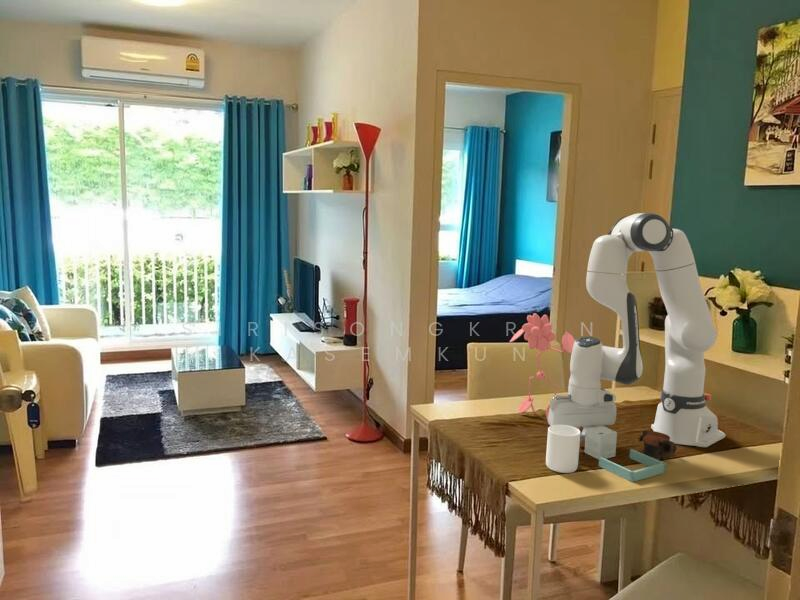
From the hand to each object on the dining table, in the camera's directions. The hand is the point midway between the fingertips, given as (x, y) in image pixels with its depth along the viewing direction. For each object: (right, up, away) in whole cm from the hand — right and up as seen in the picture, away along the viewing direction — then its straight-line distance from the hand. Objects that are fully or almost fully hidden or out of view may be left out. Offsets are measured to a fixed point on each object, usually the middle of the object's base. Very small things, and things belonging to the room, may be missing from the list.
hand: (580, 440), depth 187 cm
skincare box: (+4, -3, -6) cm, 8 cm away
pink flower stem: (-10, +2, +20) cm, 23 cm away
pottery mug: (+19, -4, -6) cm, 21 cm away
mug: (-8, -4, -14) cm, 17 cm away
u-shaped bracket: (+9, -4, -15) cm, 19 cm away
